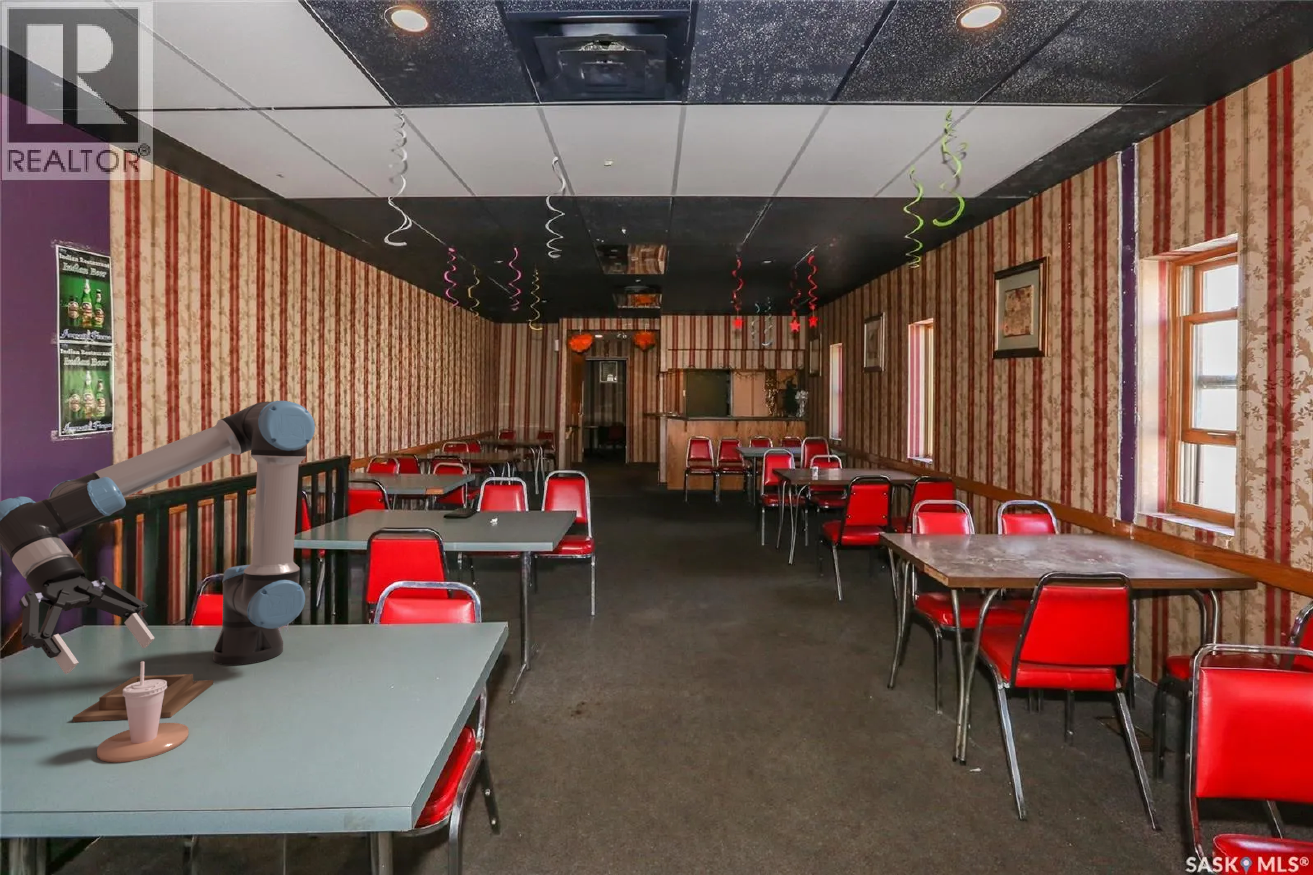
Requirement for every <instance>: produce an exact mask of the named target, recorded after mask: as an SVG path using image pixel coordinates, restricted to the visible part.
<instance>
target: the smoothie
mask: <svg viewBox="0 0 1313 875" xmlns="http://www.w3.org/2000/svg"><path fill="white" fill-rule="evenodd" d="M139 676H140V682H136V683H133V684H130V685H128V686H126V687H125V688H124V689H123V694H122V695H123V696H124V697H125V702H126V709H127V716H128V719H127V723H128V730H130V738H131V742H132V743H144V742H148V741H151V740H153V739H155V738H156V737H157V732H158V726H159V723H160V720H161V718H160V714H161V709H162V703H163V697H164V690H165V689H166V688H167V682H166V681H165V680H161V679H152V680H145V681H144V676H145V661H143V660H142V661H140V674H139Z"/></svg>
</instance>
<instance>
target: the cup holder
mask: <svg viewBox="0 0 1313 875" xmlns="http://www.w3.org/2000/svg"><path fill="white" fill-rule="evenodd" d="M152 679H161V680H165V681H166V682H167V688H166V689H165V690H164V697H163V703H162V709H161V714H160V719H162V718H172V717H173V716H174V715H175V714H177V713H178V712H179V711H181V710H182V709H183V708H185V707H186V706H187V705H188V704H189V703H191V702H192V701H194V700H195V699H197V698H198V697H199V696H201V695H202V694H203V693H204V692H205V691H207V690H208V689H209V688H210V687H212V686H213V685H214V679H207V680H206V679H204V680H194V674H193V673H187V674H186V673H184V674H161V675H159V674H157V675H155V674H154V675H144V681H145V680H152ZM136 682H140V675H135V676H133V677H131V678H130V679H128V680H126V681H125V682H123V683H121V684H119V685H118V686H116V687H114V688H112V689H110V690H109V691H108V692H106V693H105V694H102V695H101V696H100V697H99V699H98V701H96V702H95V703H93V704H92V705H90V706H88V707H87V708H86V709H85V708H84V710H82V711H80V712H79V713H77V714H75V715H74V716H72V723H81V722H84V723H85V722H100V721H102V722H103V720H105V721H117V720H118V721H122V720H128V716H127V709H126V702H125V697H124V696H123V695H122V694H123V689H124V688H125V687H126V686H128V685H130V684H133V683H136Z"/></svg>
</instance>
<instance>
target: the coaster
mask: <svg viewBox="0 0 1313 875" xmlns="http://www.w3.org/2000/svg"><path fill="white" fill-rule="evenodd" d="M189 730H190V729H189V727H188V726H187V725H185V724H183V723H177V722H159V726H158V732H157V737H156V738H155V739H153V740H151V741H148V742H144V743H132V742H131V738H130V730H129V729H126V730H124V731H121V732H119V733H116V734H114V735H112V736H110V737H108V738H106V739H105V740H103V741H102V742H101V743H100V744H98V746H97V749H96V757H97V759H98V760H100V761H102V762H106V763H128V762H129V763H130V762H134V761H135V762H136V761H141V760H146V759H149V758H152V757H156V756H159V755H162V754H164V753H167V752H169V751H172V750H174V749H176V748H177V747H180V746H181V745H182V744H183V743H185V742H186V741H187V739H188V738H189V735H190V734H189Z"/></svg>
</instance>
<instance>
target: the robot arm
mask: <svg viewBox="0 0 1313 875" xmlns="http://www.w3.org/2000/svg"><path fill="white" fill-rule="evenodd" d="M315 429H316V424H315V420H314V417H313V416H312V414H311V413H310V411H309V410H307V408H305V407H304V406H303V405H301V404H299V403H296V402H292V401H288V400H273V401H260V402H257V403H256V402H255V403H254V404H252V405H249V406H248V407H246V408H244V409H242V410H239V411H236V412H235V413H233V414H230V415H228V416H226V417H223V418H219V419H218V420H217V421H216V423H215V425H214V426H211V427H209V428H206V429H204V430H200V431H198V432H196V433H194V434H193V433H192V434H191V435H188V436H186V437H183V438H180V439H178V440H175V441H172V442H170V443H169V442H168V443H167V444H164V445H161V446H159V447H157V448H154V449H151V450H149V451H146V452H144V453H141V454H138V455H135V456H133V457H130V458H128V459H125V460H123V461H119V462H117V463H115V464H112V465H109V466H106V467H104V468H101V469H98V470H96V471H94V472H92V473H88V474H86V475H84V476H80V477H78V478H76V479H68V480H65V481H61V482H60V483H58V484H56V485H55V486H53V488H52V489H51V490H50V493H49V495H48V498H45V499H43V500H39V501H34V499H32V498H30V497H28V496H17V497H14V498H12V497H10V498H9V497H8V498H6V499H4V500H1V501H0V547H1V548H2V550H3V551H4V552H5V554H6V555H7V557H9V559H10V560H11V562H12V563H13V565H14V566H15V567H16V569H17V570H18V571H19V573H20V575H21V576H22V577H23V578H24V579H25V582H26V583H27V584H28V587H30V589H31V590H28V591H27V592H25V594H24V595H23V597H21V598H20V600H19V601H18V603H19V605H20V608H21V609H22V623H21V642H20V644H21V645H22V646H24V647H28V646H30V645H32V646H33V647H34V649H40V648H41V649H42V650H43V652H44V654H45V655H46V656H47V657H48V658H49V659H54V660H55V661H56V663H57V664H58V666H59V667H60V669H61V670H62V671H63V673H64V674H65V675H67V674H69V673H71V672H72V671H73V670H74V669H75V668H76V667H77V665H78V664H79V663H80V662H79V661H78V660H77V658H76V656H75V655H74V654H73V653H72V651H71V649H70V648H69V647H68V645H67V644H66V642H65V641H64V640H63V638H62V637H61V635H60V634H59V633H57V634H53V632H54V631H55V627H56V626H57V623H58V620H59V618H60V614H61V612H62V611H64V612H68V611H71V610H73V609H80V608H83V607H87V608H89V609H90V608H95V609H98V610H101V611H103V612H107V613H109V614H111V615H114V616H117V617H120V618H123V619H125V621H124V625H125V626H126V627H127V629H128V630H129V631H130V633H131V634H132V636H134V638H135V640H136V641H137V642H138V644H139V645H140V646H141V648H142V649H145V648H147V647H149V645H150V644H151V643H152V642H153V641H154V640H155V636H154V635H153V634H152V632H151V631H150V630H149V628H148V626H149V624H148V622H147V620H145V618H144V617H143V616H142V613H143V611H144V610H145V609H146V608H147V607H148V604H147V603H146V602H144V601H143V600H140V599H139V598H137V597H136V596H134V595H133V594H131V593H130V592H128V591H126V590H125V589H122V588H121V587H119V586H118V585H116V584H115V583H113V581H111V580H110V579H109V578H108V576H105V575H102V576H100V578H98V580H94V581H90V580H88V578H87V577H86V574H85V570H84V568H83V567H82V565H81V564H80V563H79V561H78V560H77V559H76V558H75V557H74V554H73V552H71V550H70V548H68V547H67V546H68V545H66V544H65V542H64V541H63V540H62V538H61V536H63V535H65V534H68V533H69V532H71V531H73V530H76V529H78V528H81V527H84V526H86V525H88V524H90V523H94V522H95V521H98V520H100V519H103V518H105V517H110V516H111V515H113V514H114V513H116V512H118V511H121V510H123V509H124V508H125V507H126V505H127V503H126V499H125V498H127V497H128V496H131V495H134V494H137V493H138V492H141V491H144V490H145V489H148V488H150V487H153V486H155V485H158V484H161V483H163V482H165V481H168V480H170V479H172V478H175V477H177V476H180V475H182V474H185V473H187V472H190V471H192V470H194V469H197V468H199V467H202V466H204V465H206V464H209V463H212V462H214V461H216V460H218V459H222V458H224V457H226V456H229V455H230V454H233V455H235V456H236V455H237V456H239V455H242V454H244V453H247V452H249V451H250V457H251V458H252V459H253V460H254V461H255V462H256V463H257V470H256V484H255V485H256V486H255V487H256V488H255V503H254V504H255V506H254V519H253V520H254V521H253V537H252V553H251V554H252V556H251V563H250V564H245V565H244V564H243V565H236V566H231V567H228V568H226V569H225V570H224V572H223V579H222V625H221V626H222V627H221V631H220V633H219V635H218V639H217V640H216V643H215V646H214V648H213V653H212V655H213V656H212V657H213V658H212V661H213V663H216V664H219V665H224V666H226V665H228V666H235V665H236V666H237V665H249V664H254V663H260V662H264V661H266V660H270V659H273V658H276V657H277V656H280V655H281V654H282V653H283V651H284V640H283V636H282V635H281V632H280V629H279V628H282V627H285V626H287V625H288V624H290V623H292V622H294V620H295V619H297V617H299V616H300V615H301V612H302V611H303V609H304V607H305V603H306V594H305V592H304V591H305V590H304V589H303V586H301V585H300V567H299V566H298V564H296V563H295V562H294V548H295V532H296V515H297V513H296V512H297V498H298V497H297V496H298V481H299V465H300V463H301V462H303V461H304V460H305V459H306V457H307V448H308V447H307V446H308V444H309V443H310V442H311V441H312V439H313V438H314V435H315V431H316V430H315ZM92 597H93V599H92ZM40 602H41V603H42V604H46V605H48V606H49V607H48V610H47V612H46V614H45V615H46V616H45V618H44V621H43V623H42V625H41V628H40V630H39V618H40Z"/></svg>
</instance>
